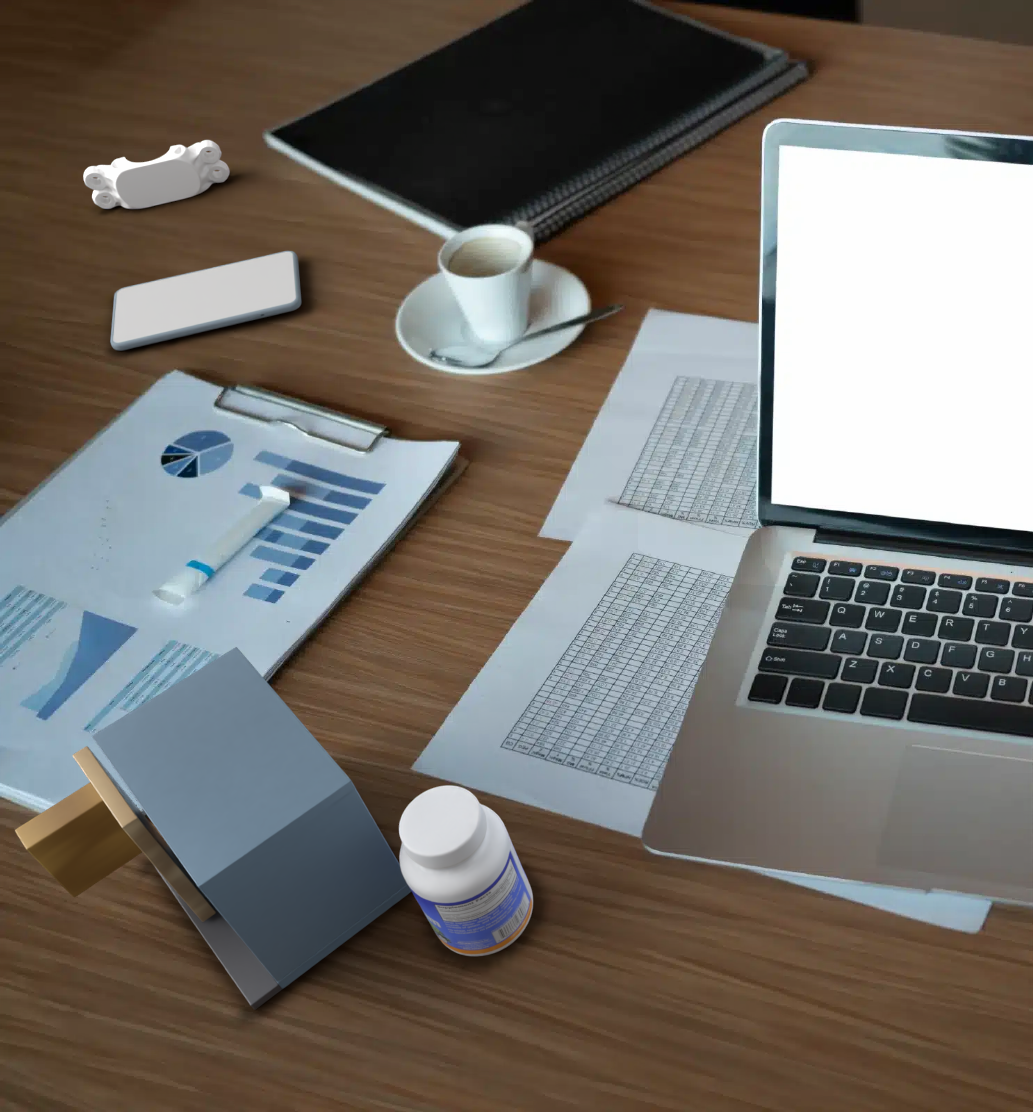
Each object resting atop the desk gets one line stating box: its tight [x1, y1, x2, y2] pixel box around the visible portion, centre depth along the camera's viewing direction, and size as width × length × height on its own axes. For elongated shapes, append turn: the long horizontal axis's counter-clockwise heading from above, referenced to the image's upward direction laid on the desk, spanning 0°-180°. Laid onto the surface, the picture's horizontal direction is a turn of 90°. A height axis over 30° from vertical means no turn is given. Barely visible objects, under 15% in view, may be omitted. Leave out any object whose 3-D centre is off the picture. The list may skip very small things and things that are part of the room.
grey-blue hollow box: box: [91, 646, 412, 1010], centre depth 69 cm, size 10×12×11 cm
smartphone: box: [109, 250, 302, 351], centre depth 109 cm, size 8×1×15 cm
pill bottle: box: [398, 784, 534, 957], centre depth 67 cm, size 5×5×10 cm
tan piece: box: [14, 745, 216, 922], centre depth 67 cm, size 5×6×10 cm
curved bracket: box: [83, 139, 231, 210], centre depth 120 cm, size 12×2×4 cm, turn 113°
